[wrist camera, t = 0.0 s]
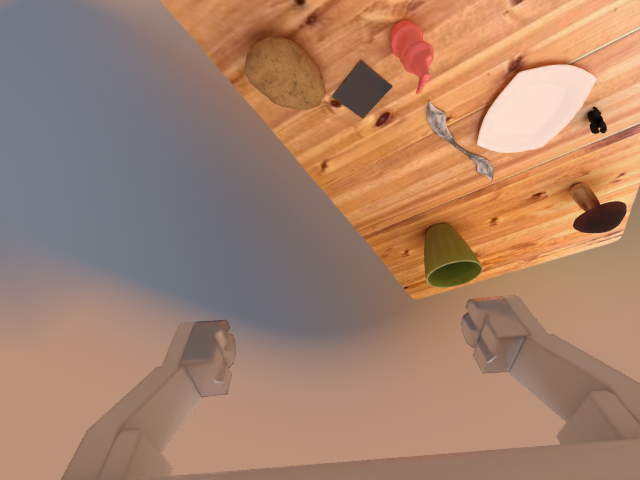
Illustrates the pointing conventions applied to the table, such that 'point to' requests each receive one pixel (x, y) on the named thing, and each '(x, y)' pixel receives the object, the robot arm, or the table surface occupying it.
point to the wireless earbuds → (596, 121)
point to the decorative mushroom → (596, 211)
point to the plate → (534, 108)
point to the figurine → (412, 50)
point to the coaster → (362, 89)
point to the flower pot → (448, 258)
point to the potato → (285, 73)
